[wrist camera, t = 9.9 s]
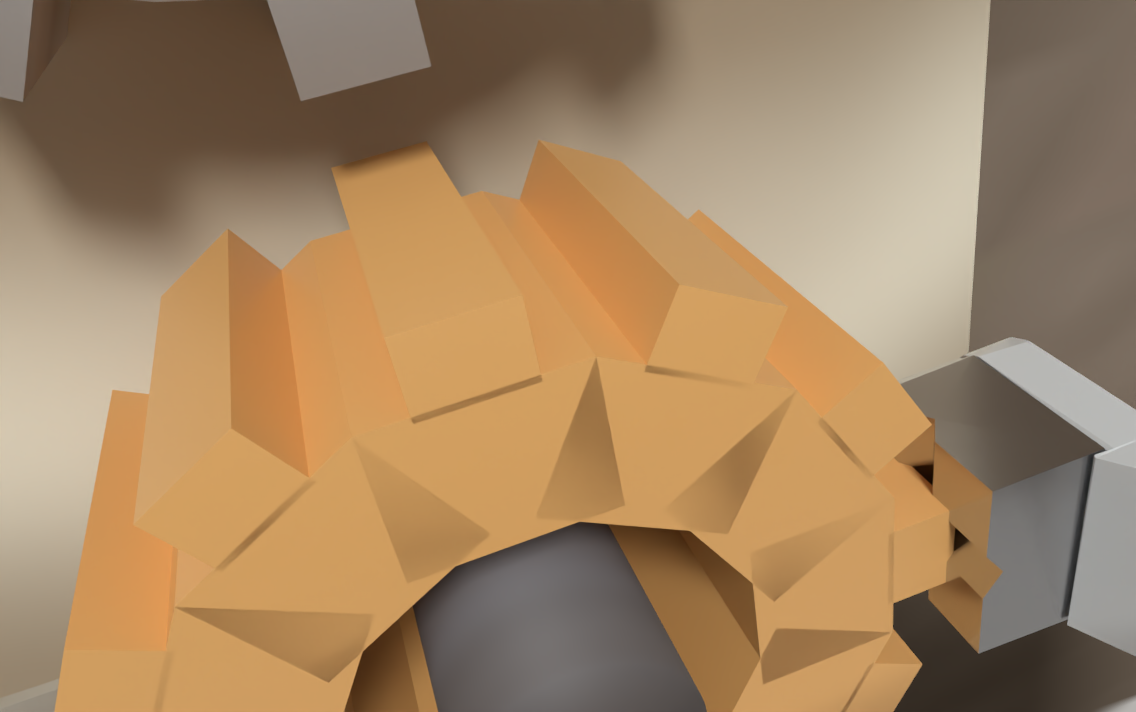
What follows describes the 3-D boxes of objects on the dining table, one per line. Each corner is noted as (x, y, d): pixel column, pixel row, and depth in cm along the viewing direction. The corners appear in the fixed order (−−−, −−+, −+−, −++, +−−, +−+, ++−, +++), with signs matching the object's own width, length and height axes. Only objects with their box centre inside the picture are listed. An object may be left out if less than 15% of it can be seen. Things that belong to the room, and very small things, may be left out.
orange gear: (259, 789, 11) (270, 1082, 8) (-52, 273, 7) (-194, 519, 5) (789, 584, 12) (939, 787, 9) (751, 50, 8) (978, 153, 6)
